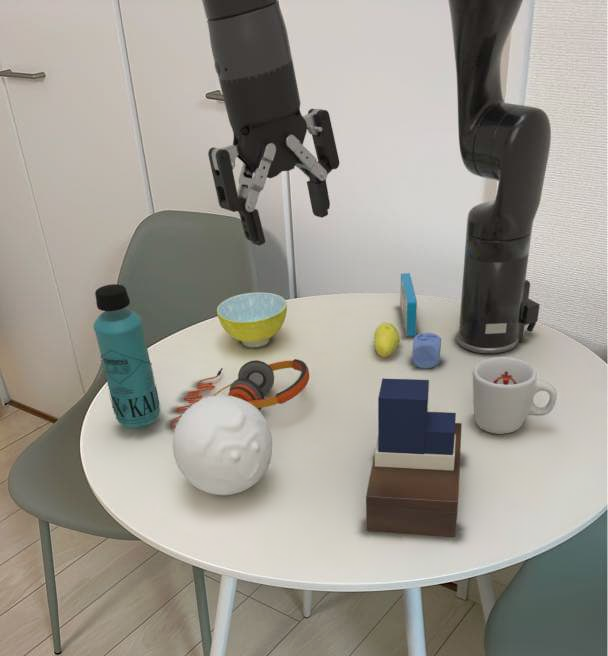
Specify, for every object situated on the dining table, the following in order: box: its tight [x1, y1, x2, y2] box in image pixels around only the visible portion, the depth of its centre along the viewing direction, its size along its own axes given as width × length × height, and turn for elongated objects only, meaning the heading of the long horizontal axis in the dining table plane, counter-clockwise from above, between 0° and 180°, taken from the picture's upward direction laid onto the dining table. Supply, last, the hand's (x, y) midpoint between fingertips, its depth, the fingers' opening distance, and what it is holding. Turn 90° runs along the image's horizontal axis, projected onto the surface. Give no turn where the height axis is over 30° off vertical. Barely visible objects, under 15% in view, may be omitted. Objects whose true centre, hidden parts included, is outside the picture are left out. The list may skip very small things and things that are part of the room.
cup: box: [472, 356, 558, 435], centre depth 98 cm, size 11×8×8 cm
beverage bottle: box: [93, 283, 162, 428], centre depth 101 cm, size 6×7×20 cm
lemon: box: [373, 322, 401, 358], centre depth 119 cm, size 4×8×4 cm, turn 169°
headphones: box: [169, 358, 310, 429], centre depth 108 cm, size 17×5×20 cm
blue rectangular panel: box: [399, 272, 418, 338], centre depth 125 cm, size 12×2×6 cm, turn 179°
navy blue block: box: [374, 378, 457, 471], centre depth 85 cm, size 9×5×9 cm, turn 80°
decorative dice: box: [411, 332, 442, 369], centre depth 115 cm, size 4×4×4 cm
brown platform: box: [365, 422, 463, 538], centre depth 90 cm, size 16×10×5 cm, turn 170°
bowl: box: [216, 291, 288, 348], centre depth 123 cm, size 11×12×6 cm
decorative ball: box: [172, 394, 273, 496], centre depth 91 cm, size 12×12×12 cm
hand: (290, 229), depth 85 cm, fingers open, 8 cm apart
